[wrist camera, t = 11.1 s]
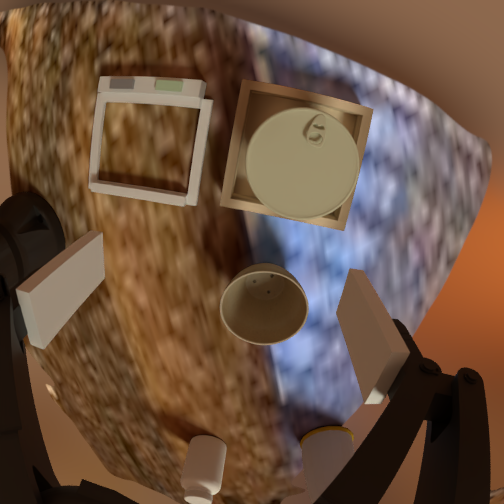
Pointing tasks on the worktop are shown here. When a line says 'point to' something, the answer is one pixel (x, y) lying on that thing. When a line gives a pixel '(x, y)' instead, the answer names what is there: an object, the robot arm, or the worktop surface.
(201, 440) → the pill bottle
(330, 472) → the soap bottle
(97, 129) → the white square frame
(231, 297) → the flower pot
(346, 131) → the can
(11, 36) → the worktop surface
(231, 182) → the open box
